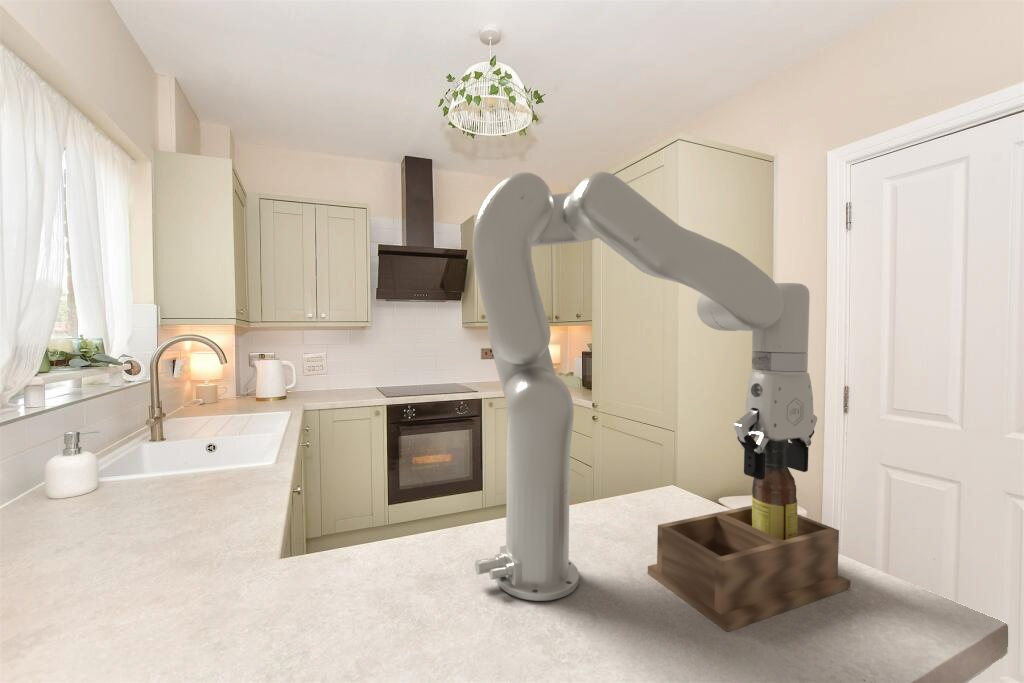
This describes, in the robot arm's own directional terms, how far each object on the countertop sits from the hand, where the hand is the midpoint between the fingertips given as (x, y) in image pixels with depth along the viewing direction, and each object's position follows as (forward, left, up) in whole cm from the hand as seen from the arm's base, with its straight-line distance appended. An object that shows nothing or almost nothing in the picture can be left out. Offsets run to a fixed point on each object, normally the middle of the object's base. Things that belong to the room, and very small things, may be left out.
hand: (776, 473), depth 72 cm
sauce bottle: (0, 0, -14) cm, 15 cm away
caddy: (-6, 0, -16) cm, 17 cm away
